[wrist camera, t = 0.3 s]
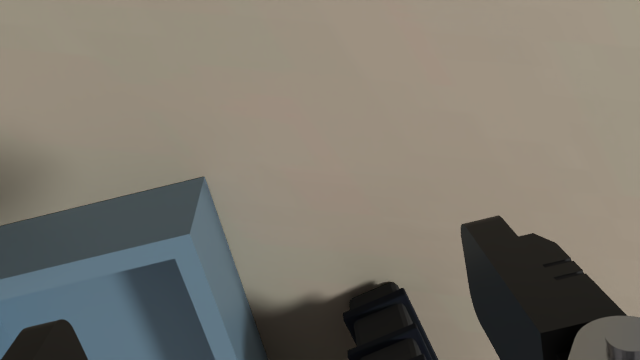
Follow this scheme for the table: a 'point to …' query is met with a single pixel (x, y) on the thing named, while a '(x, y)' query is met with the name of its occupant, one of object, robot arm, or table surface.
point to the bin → (130, 278)
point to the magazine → (386, 327)
